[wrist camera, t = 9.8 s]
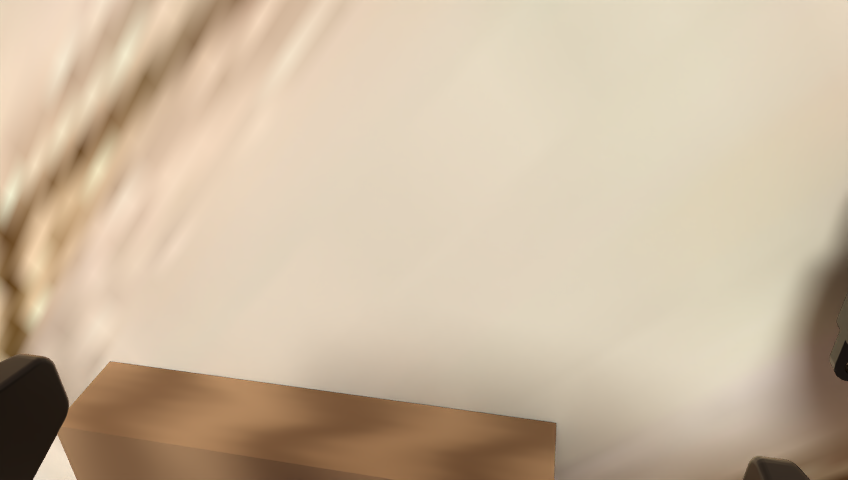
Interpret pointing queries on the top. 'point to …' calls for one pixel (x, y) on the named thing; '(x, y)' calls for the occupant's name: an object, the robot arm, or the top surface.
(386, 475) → the can holder
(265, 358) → the top surface
